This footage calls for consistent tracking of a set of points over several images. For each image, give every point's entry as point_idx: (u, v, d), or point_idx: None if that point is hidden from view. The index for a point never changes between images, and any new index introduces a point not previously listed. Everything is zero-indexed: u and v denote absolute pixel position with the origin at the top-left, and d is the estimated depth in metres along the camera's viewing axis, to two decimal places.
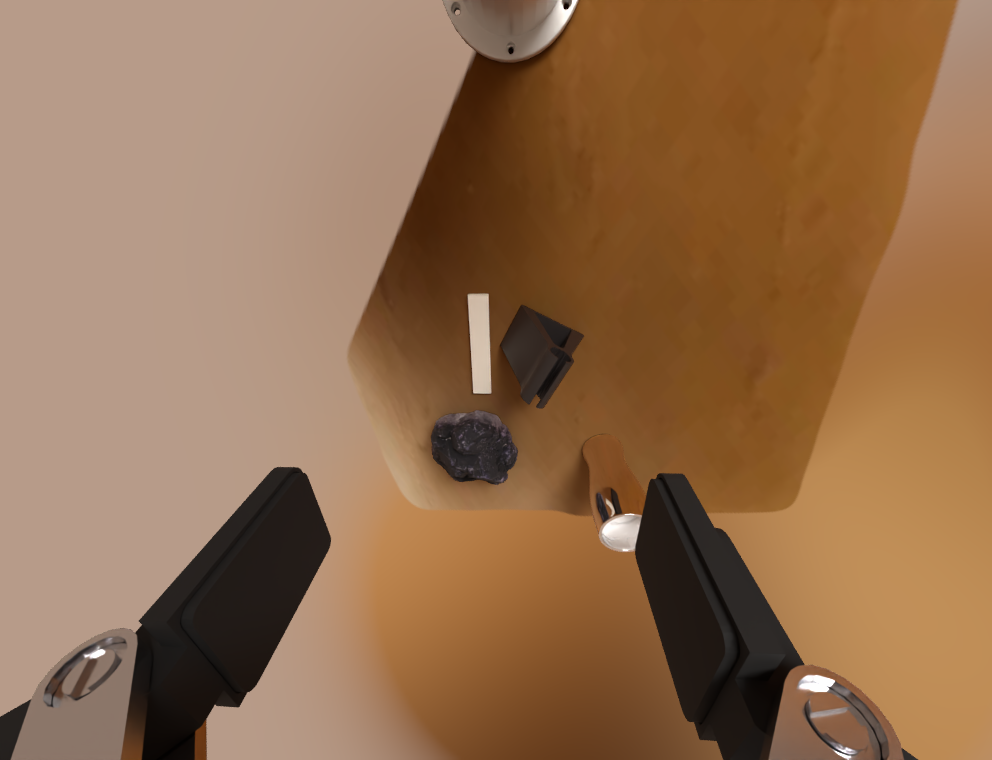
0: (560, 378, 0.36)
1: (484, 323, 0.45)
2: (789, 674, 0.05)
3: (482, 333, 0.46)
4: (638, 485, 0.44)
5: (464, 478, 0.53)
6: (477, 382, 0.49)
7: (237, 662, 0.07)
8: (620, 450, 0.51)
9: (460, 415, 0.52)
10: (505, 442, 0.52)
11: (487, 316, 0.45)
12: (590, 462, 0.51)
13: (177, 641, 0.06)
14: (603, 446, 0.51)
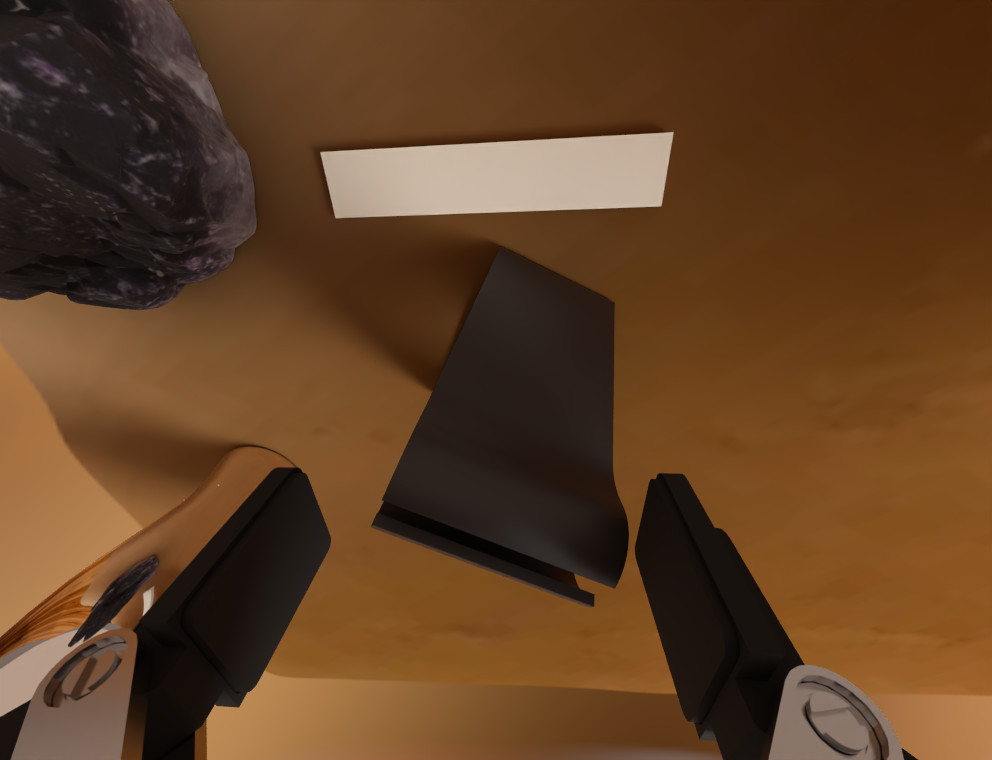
0: None
1: (572, 194, 0.15)
2: (789, 674, 0.05)
3: (538, 187, 0.15)
4: None
5: None
6: (366, 167, 0.15)
7: (237, 662, 0.07)
8: None
9: (200, 84, 0.14)
10: (167, 271, 0.16)
11: (593, 204, 0.15)
12: (220, 497, 0.21)
13: (177, 641, 0.06)
14: None
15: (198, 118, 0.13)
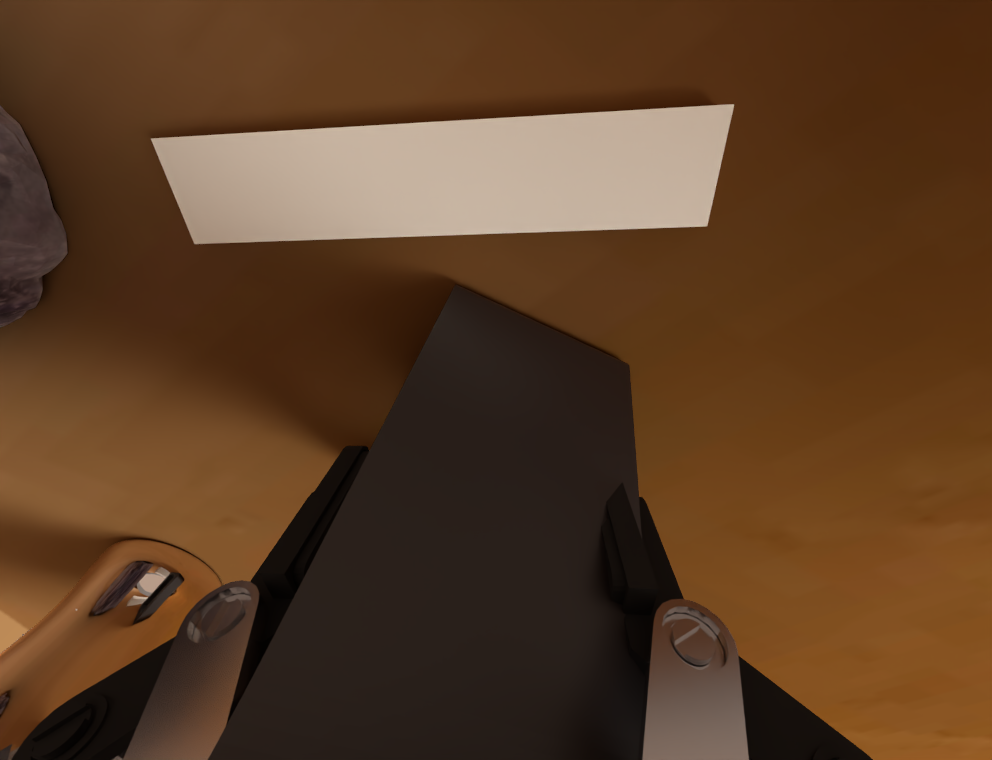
0: None
1: (565, 207, 0.09)
2: (661, 606, 0.06)
3: (510, 196, 0.09)
4: None
5: None
6: (229, 163, 0.09)
7: None
8: None
9: None
10: None
11: (599, 223, 0.09)
12: (73, 633, 0.15)
13: (289, 593, 0.07)
14: (167, 618, 0.17)
15: None
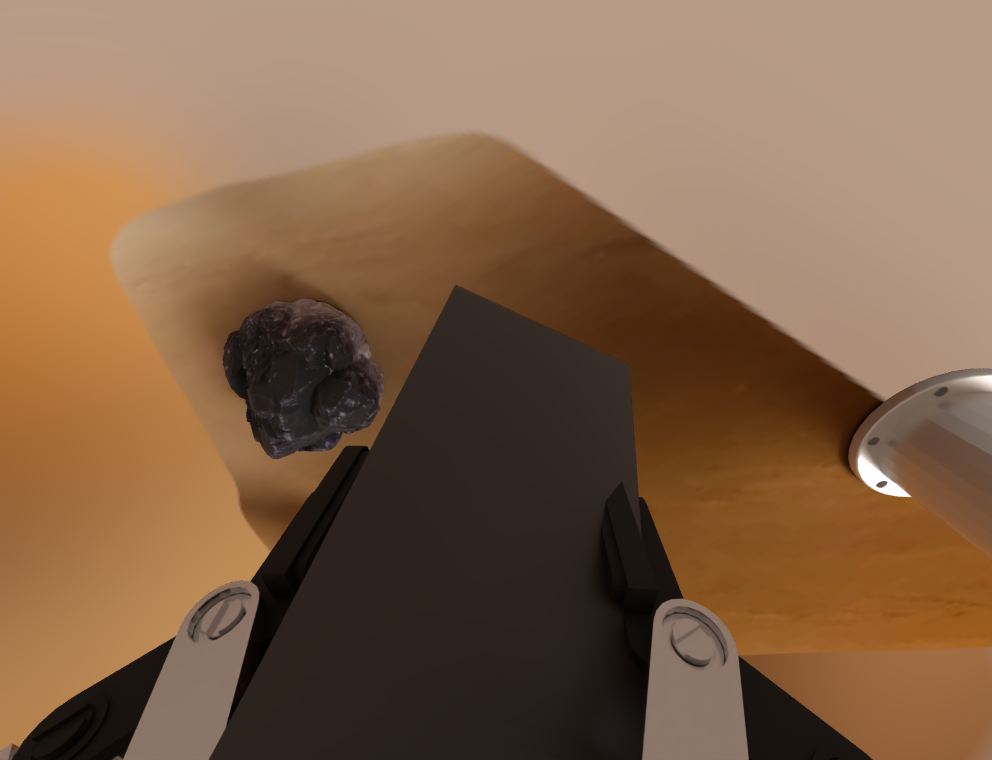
0: None
1: None
2: (661, 605, 0.06)
3: None
4: None
5: (240, 388, 0.27)
6: None
7: None
8: None
9: (367, 351, 0.29)
10: None
11: None
12: None
13: (289, 593, 0.07)
14: None
15: (371, 373, 0.28)
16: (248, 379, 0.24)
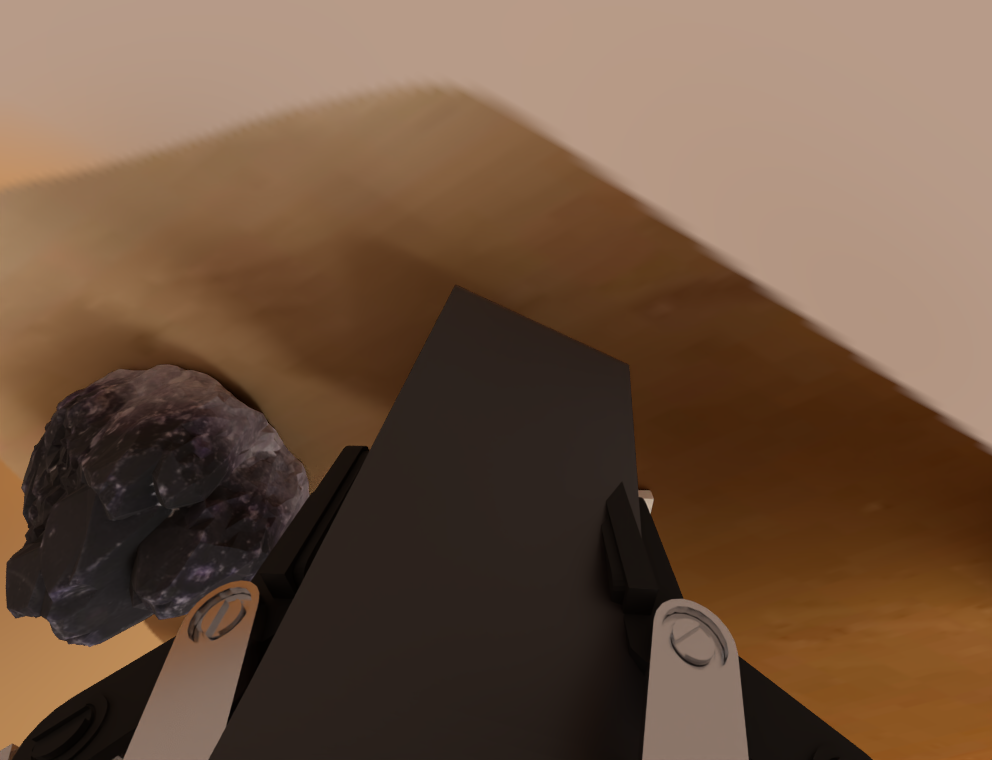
0: None
1: None
2: (661, 605, 0.06)
3: None
4: None
5: None
6: None
7: None
8: None
9: (270, 444, 0.18)
10: None
11: None
12: None
13: (289, 593, 0.07)
14: None
15: (274, 482, 0.17)
16: (30, 525, 0.14)
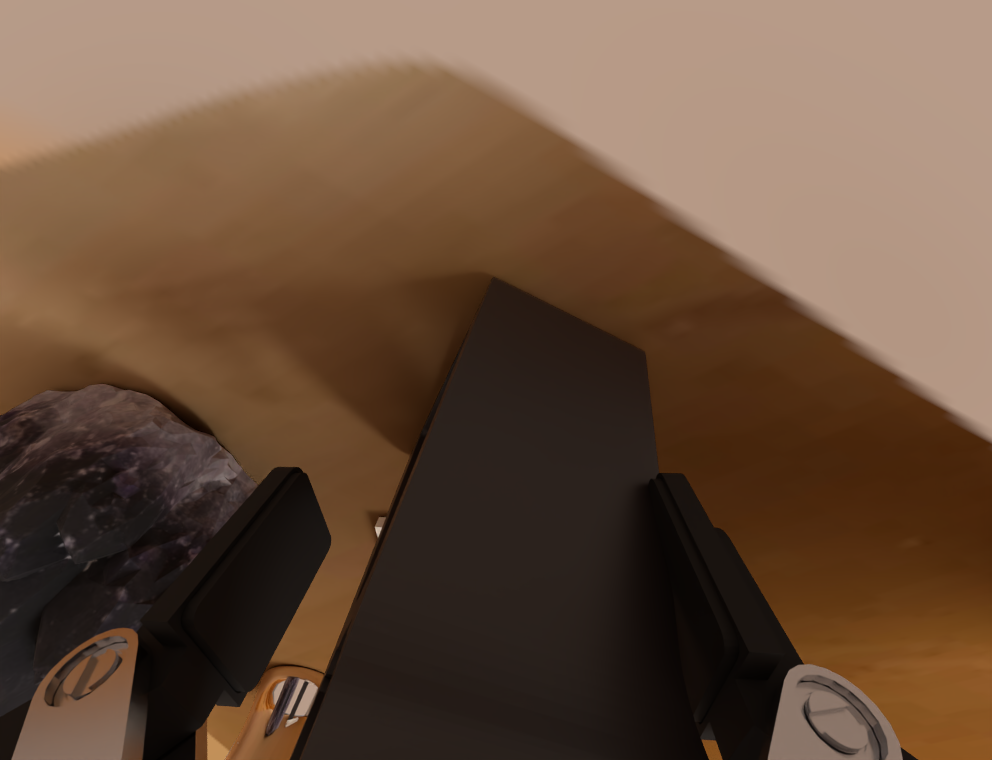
0: None
1: None
2: (788, 674, 0.05)
3: None
4: None
5: None
6: None
7: (238, 662, 0.07)
8: None
9: (223, 472, 0.16)
10: None
11: None
12: (271, 743, 0.23)
13: (178, 641, 0.06)
14: None
15: (226, 517, 0.15)
16: None
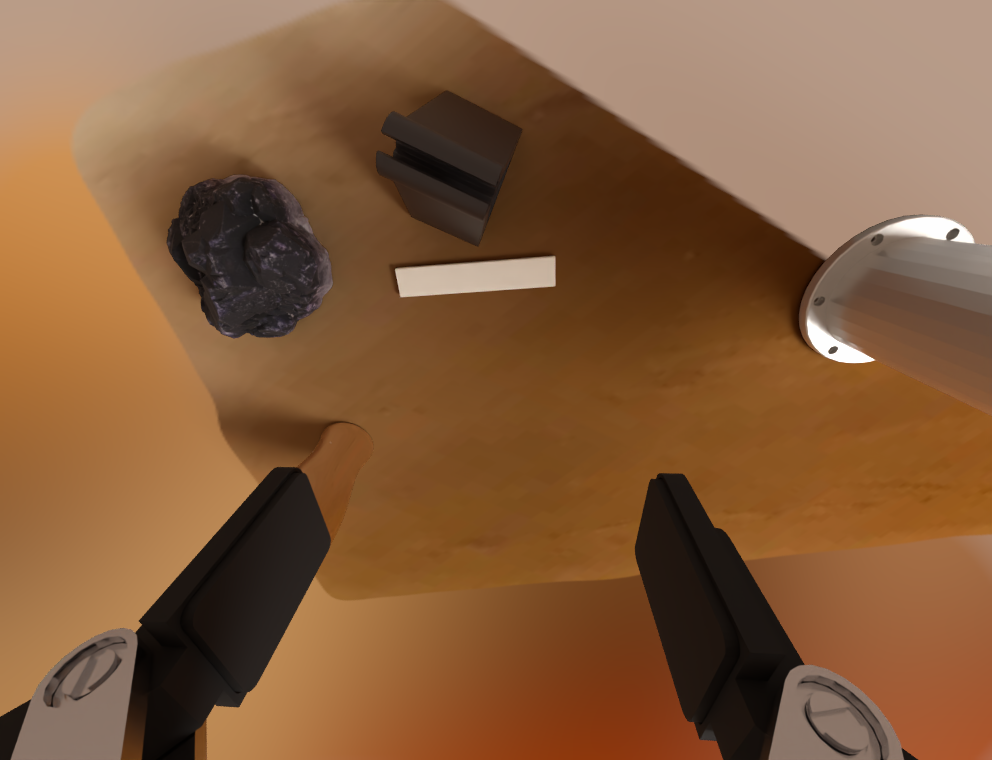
0: (451, 198, 0.19)
1: (514, 282, 0.32)
2: (789, 674, 0.05)
3: (498, 280, 0.31)
4: (339, 526, 0.34)
5: (184, 262, 0.28)
6: (416, 274, 0.31)
7: (237, 662, 0.07)
8: (360, 468, 0.40)
9: (306, 224, 0.29)
10: (295, 314, 0.32)
11: (524, 286, 0.32)
12: (334, 448, 0.37)
13: (177, 641, 0.06)
14: (360, 451, 0.39)
15: (311, 241, 0.29)
16: (184, 239, 0.25)
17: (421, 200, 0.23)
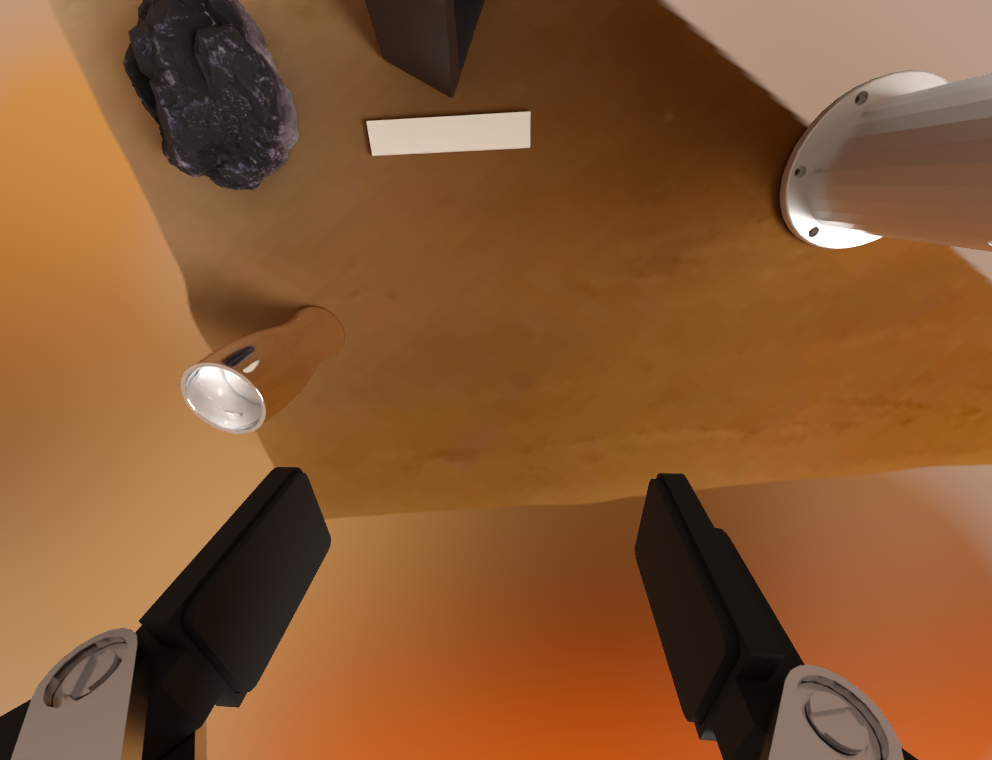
0: None
1: (488, 141, 0.31)
2: (789, 674, 0.05)
3: (471, 138, 0.31)
4: (299, 391, 0.33)
5: (140, 82, 0.27)
6: (388, 128, 0.31)
7: (237, 662, 0.07)
8: (330, 355, 0.40)
9: (269, 57, 0.29)
10: (258, 161, 0.31)
11: (498, 146, 0.31)
12: (301, 323, 0.36)
13: (177, 641, 0.06)
14: (329, 334, 0.38)
15: None
16: None
17: (384, 0, 0.22)
